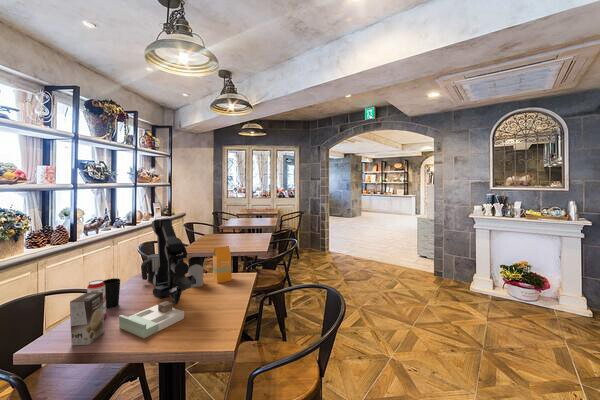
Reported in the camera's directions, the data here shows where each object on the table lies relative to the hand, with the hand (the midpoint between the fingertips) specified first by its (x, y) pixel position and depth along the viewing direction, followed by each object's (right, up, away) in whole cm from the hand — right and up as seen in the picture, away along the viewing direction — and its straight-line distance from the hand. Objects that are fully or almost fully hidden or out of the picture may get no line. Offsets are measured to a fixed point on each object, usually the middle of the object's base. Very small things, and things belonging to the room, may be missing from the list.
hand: (176, 304), depth 129 cm
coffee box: (-23, -5, -22) cm, 32 cm away
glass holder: (-5, -1, +38) cm, 38 cm away
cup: (-33, -3, +6) cm, 34 cm away
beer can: (-31, -4, -6) cm, 32 cm away
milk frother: (-27, -1, +40) cm, 48 cm away
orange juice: (+9, -1, +42) cm, 43 cm away
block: (-3, -1, -5) cm, 5 cm away
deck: (-5, -4, -10) cm, 12 cm away
